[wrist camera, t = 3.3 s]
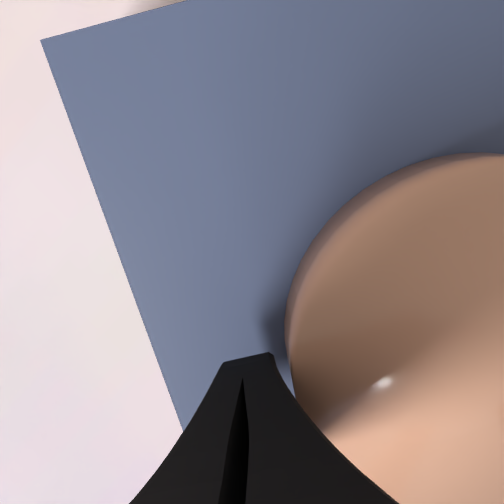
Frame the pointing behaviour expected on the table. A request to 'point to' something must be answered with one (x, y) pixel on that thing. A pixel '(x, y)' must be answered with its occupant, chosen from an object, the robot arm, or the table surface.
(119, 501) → the table surface
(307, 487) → the robot arm
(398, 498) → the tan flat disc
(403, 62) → the book
